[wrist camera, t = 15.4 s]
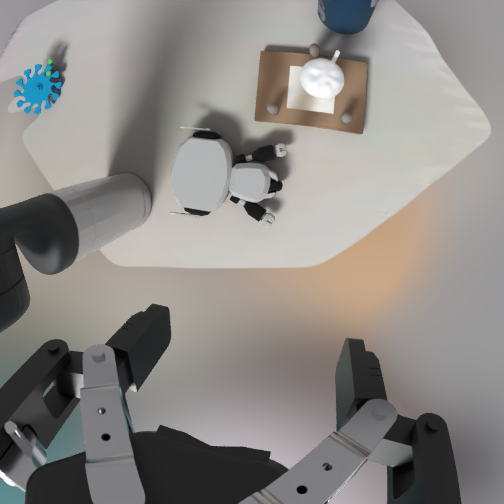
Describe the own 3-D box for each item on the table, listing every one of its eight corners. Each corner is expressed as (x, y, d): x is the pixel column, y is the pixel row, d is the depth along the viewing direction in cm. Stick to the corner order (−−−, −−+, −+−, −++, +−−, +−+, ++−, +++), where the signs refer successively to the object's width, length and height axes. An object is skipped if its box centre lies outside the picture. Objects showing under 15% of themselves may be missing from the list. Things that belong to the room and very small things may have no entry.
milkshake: (346, 83, 32) (359, 63, 23) (325, 115, 34) (331, 104, 25) (316, 64, 32) (318, 39, 22) (295, 96, 34) (290, 79, 25)
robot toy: (290, 141, 38) (185, 126, 39) (290, 140, 34) (174, 125, 35) (274, 225, 43) (176, 207, 44) (273, 234, 39) (164, 215, 39)
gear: (45, 122, 41) (5, 105, 34) (48, 116, 45) (11, 101, 38) (73, 69, 38) (32, 51, 31) (75, 69, 42) (37, 52, 35)
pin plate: (256, 121, 37) (250, 118, 33) (262, 50, 34) (257, 39, 29) (360, 134, 35) (366, 132, 31) (365, 62, 31) (371, 52, 27)
